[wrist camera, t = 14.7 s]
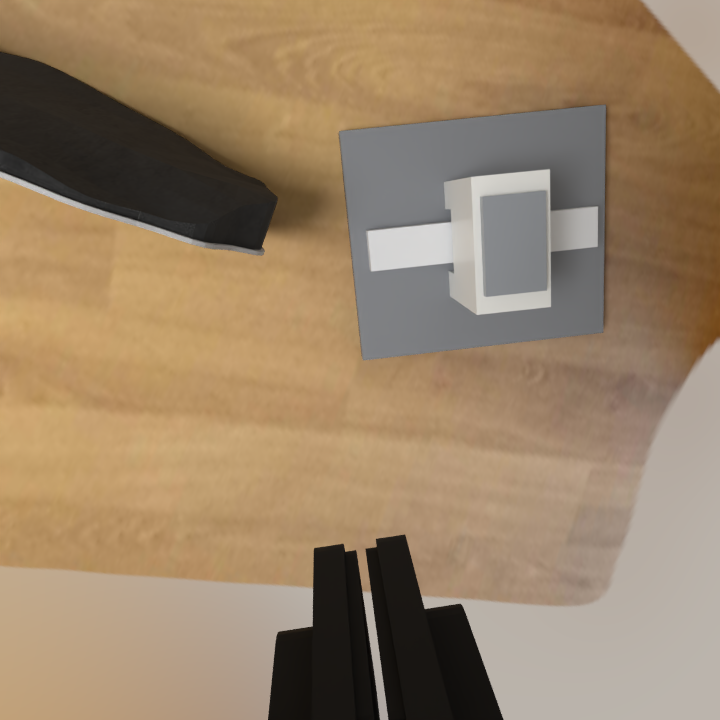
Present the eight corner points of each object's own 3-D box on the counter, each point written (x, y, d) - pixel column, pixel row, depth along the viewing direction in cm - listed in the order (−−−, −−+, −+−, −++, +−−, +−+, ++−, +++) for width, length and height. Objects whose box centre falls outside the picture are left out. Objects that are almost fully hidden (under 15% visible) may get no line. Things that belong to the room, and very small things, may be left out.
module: (443, 182, 35) (473, 176, 28) (508, 175, 35) (553, 168, 28) (450, 296, 37) (479, 316, 30) (511, 289, 37) (554, 308, 30)
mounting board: (338, 133, 35) (340, 128, 33) (596, 107, 35) (615, 101, 33) (361, 355, 39) (364, 365, 36) (594, 328, 39) (612, 336, 37)
